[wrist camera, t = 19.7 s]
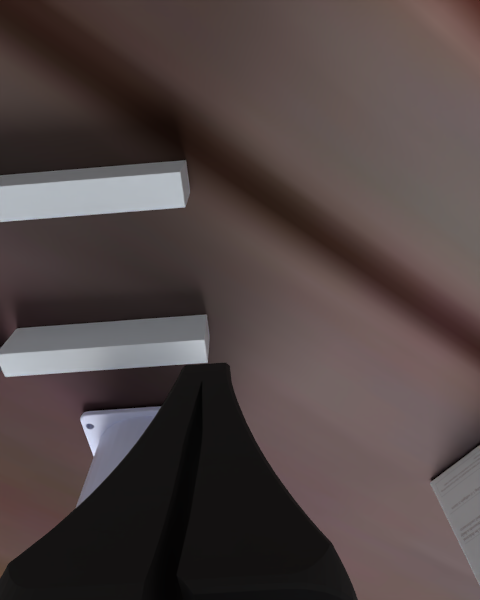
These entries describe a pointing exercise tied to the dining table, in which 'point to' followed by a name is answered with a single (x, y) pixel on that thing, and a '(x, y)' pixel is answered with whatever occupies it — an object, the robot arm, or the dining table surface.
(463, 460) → the supplement box
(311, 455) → the dining table surface
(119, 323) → the dock
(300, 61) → the dining table surface
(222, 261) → the dining table surface
